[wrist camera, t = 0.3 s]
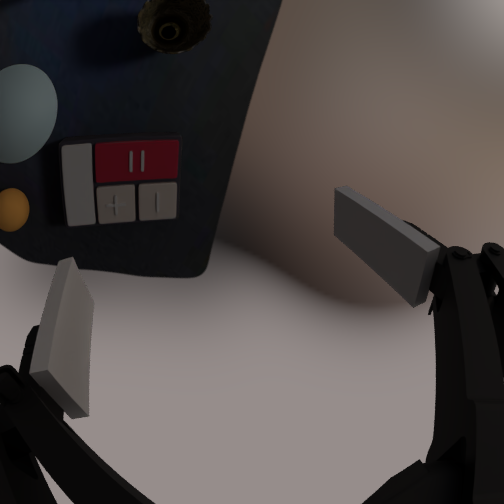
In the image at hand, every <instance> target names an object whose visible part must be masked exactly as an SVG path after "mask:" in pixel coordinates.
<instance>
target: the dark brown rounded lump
mask: <svg viewBox="0 0 504 504" xmlns="http://www.w3.org/2000/svg"><path fill="white" fill-rule="evenodd" d="M209 11H210V10H209V5H208V4H206V1H205V0H151V1H146V2H145V4H144V5H143V8H142V9H141V10H140V12H139V14H138V18H137V23H138V27H137V30H138V32H139V34H140V36H141V39H142V41H143V42H144V43H145V44H146V45H147V46H149V47H150V48H152V49H153V50H155V51H157V52H161V53H166V54H178V53H183V52H186V51H190V50H191V49H193V47H195V46H196V45H198V44H199V43H200V42H201V41H203V40H204V39H205V38H206V35H207V34H208V33H209V32H210V31H211V28H212V25H211V20H212V18H213V16H212V14H209ZM168 26H171V27H173V28H174V29H175V35H174V36H173V37H172V38H165V37H164V36H163V35H162V31H163V29H164V28H165V27H168Z"/></svg>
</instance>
